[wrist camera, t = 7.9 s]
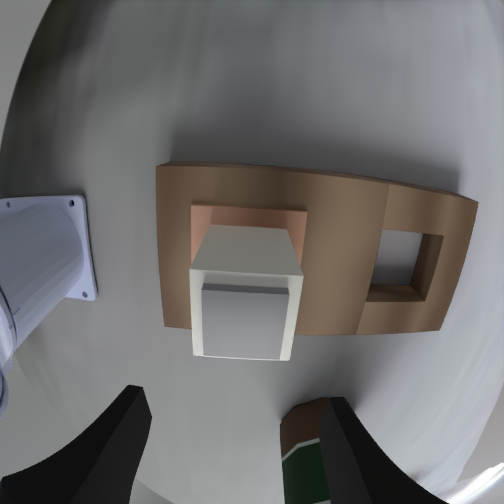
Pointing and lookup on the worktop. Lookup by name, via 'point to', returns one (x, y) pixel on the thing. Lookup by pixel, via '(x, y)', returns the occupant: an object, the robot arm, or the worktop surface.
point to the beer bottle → (303, 455)
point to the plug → (245, 293)
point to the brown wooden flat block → (318, 240)
